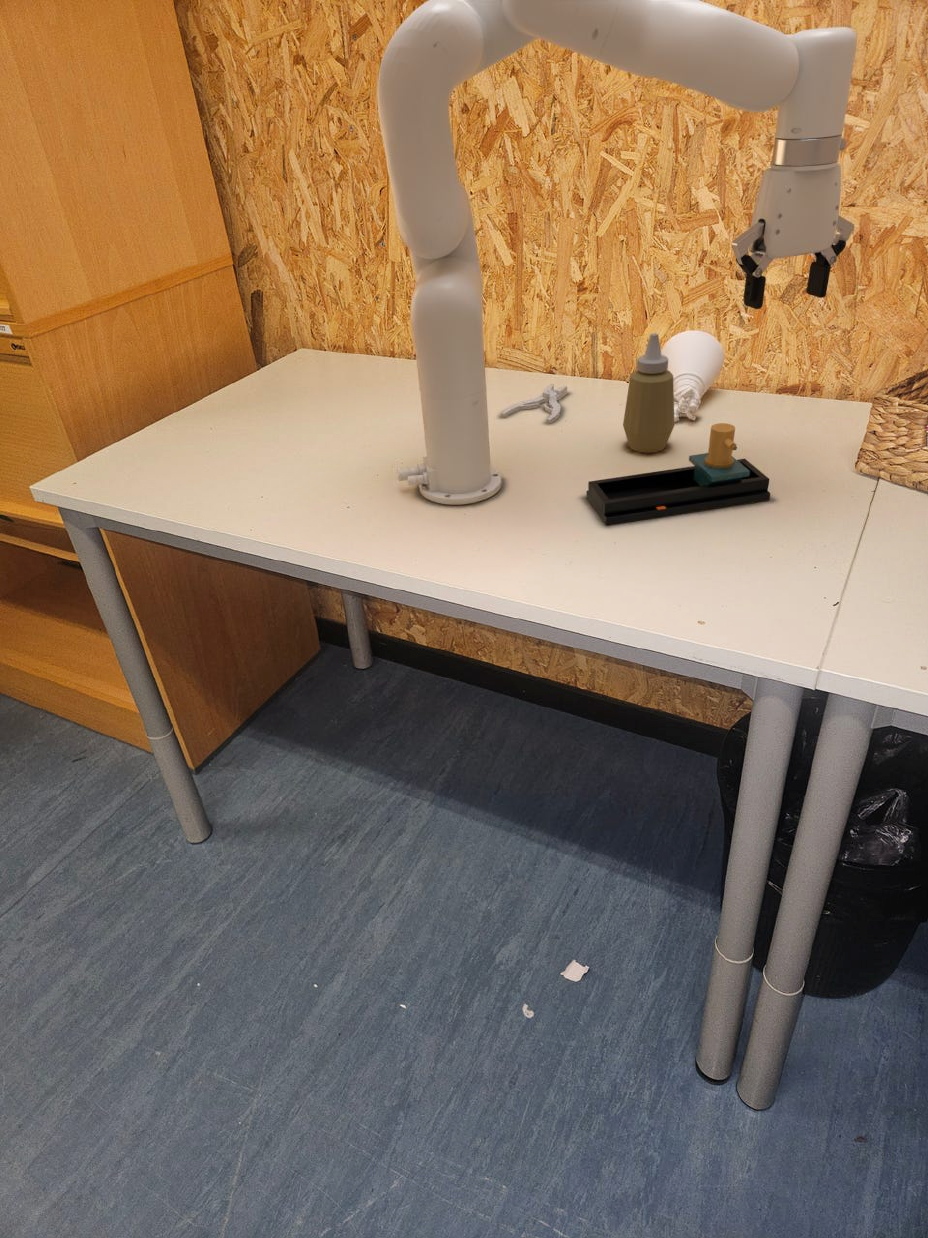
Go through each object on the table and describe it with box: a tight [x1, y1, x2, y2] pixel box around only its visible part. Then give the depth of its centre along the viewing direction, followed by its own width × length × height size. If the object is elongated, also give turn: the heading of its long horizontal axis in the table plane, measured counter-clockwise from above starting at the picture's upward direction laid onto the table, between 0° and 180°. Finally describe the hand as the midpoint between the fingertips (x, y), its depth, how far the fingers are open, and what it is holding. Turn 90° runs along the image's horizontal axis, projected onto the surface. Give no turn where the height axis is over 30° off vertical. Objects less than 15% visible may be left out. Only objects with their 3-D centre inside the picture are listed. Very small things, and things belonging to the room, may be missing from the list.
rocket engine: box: [660, 330, 725, 423], centre depth 144 cm, size 12×12×18 cm
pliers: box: [501, 383, 568, 425], centre depth 151 cm, size 10×2×15 cm
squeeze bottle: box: [622, 333, 675, 454], centre depth 128 cm, size 8×8×18 cm
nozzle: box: [688, 422, 750, 486], centre depth 115 cm, size 6×8×8 cm
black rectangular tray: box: [585, 458, 771, 526], centre depth 117 cm, size 24×9×3 cm, turn 101°
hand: (784, 300), depth 108 cm, fingers open, 9 cm apart
